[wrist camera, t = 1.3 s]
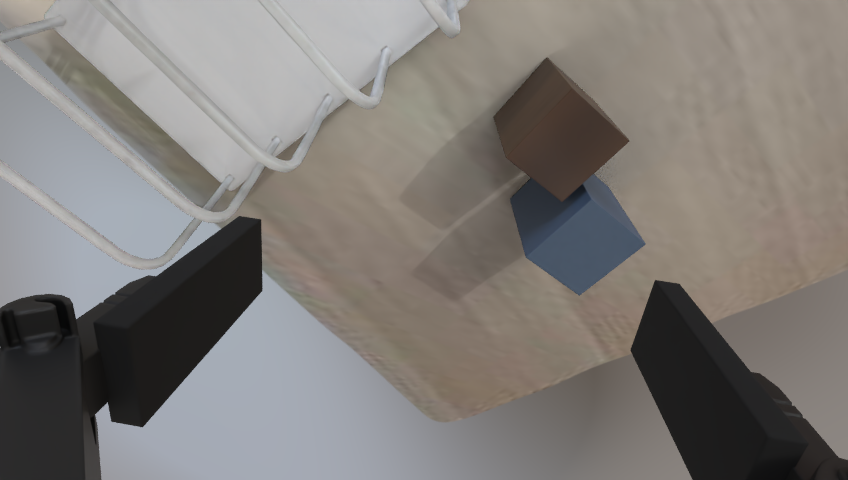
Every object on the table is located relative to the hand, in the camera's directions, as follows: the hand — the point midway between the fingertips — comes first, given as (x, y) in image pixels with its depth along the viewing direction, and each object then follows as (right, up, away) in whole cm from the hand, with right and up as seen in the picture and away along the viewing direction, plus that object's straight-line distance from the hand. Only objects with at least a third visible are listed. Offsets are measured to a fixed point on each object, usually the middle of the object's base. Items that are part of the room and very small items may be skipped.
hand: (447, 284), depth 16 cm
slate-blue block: (+11, +6, +27) cm, 30 cm away
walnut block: (+9, +12, +23) cm, 27 cm away
